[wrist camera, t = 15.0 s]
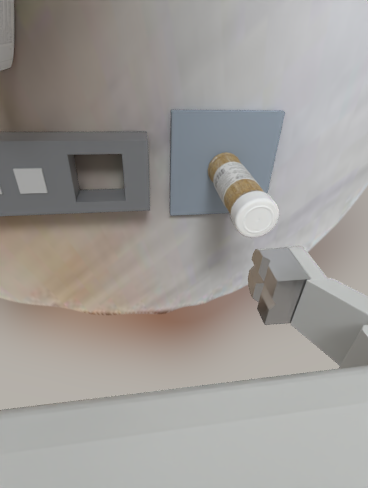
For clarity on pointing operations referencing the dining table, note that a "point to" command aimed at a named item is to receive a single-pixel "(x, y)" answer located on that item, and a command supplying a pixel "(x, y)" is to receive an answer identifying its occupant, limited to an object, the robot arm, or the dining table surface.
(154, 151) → the dining table surface
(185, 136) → the rubber mat
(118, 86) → the dining table surface
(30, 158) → the power strip
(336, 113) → the dining table surface
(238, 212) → the sprinkles bottle
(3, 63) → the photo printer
